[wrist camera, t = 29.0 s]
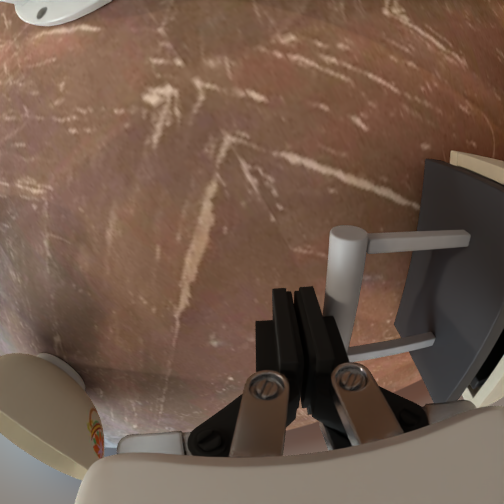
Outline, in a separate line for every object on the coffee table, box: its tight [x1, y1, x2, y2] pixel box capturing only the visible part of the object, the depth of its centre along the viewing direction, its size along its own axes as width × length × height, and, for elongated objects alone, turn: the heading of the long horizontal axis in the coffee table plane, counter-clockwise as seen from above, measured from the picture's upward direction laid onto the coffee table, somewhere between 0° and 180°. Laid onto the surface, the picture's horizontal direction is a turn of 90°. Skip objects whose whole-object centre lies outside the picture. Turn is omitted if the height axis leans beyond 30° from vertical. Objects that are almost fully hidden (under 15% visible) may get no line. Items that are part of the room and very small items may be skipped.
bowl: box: [0, 353, 104, 480], centre depth 18 cm, size 16×16×10 cm
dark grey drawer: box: [323, 159, 504, 403], centre depth 11 cm, size 20×11×8 cm, turn 94°
